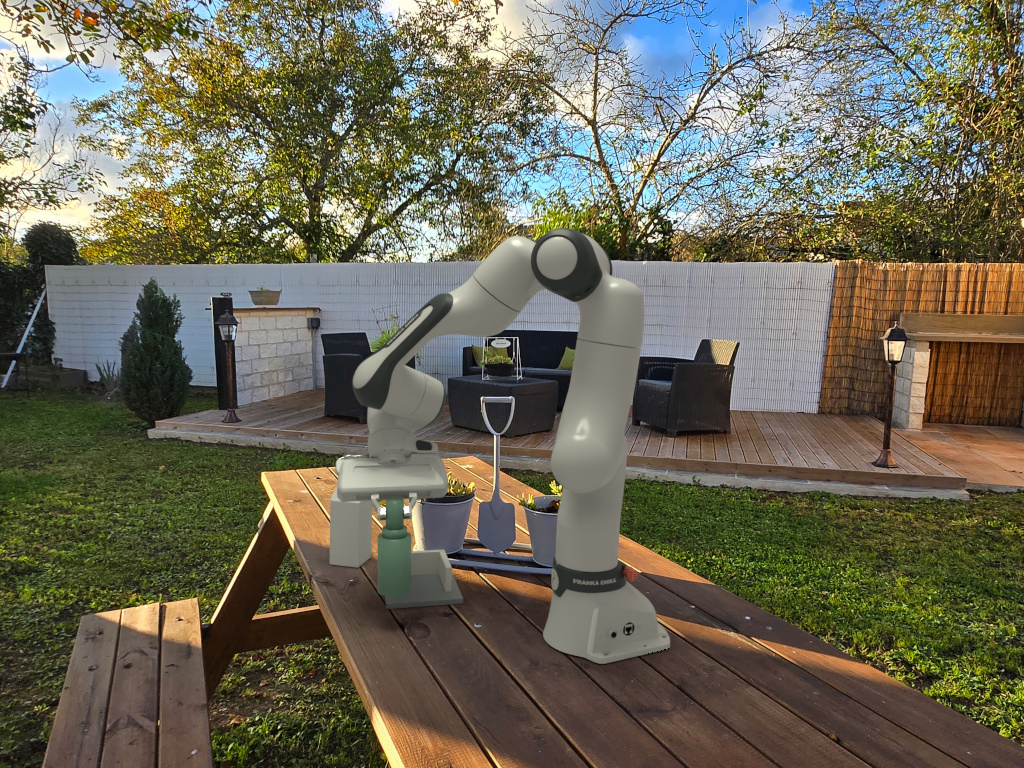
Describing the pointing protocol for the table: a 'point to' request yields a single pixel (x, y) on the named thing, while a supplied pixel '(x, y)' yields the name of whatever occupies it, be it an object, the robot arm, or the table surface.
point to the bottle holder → (428, 582)
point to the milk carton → (350, 532)
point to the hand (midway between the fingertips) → (395, 518)
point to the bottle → (394, 552)
